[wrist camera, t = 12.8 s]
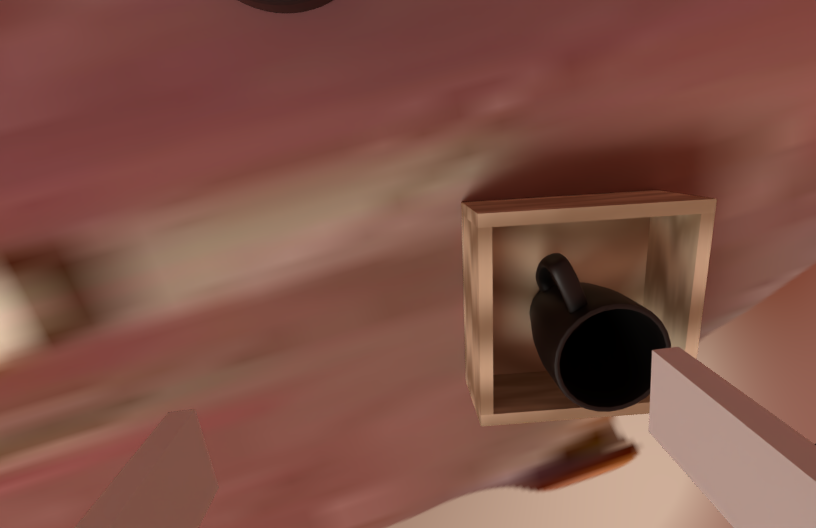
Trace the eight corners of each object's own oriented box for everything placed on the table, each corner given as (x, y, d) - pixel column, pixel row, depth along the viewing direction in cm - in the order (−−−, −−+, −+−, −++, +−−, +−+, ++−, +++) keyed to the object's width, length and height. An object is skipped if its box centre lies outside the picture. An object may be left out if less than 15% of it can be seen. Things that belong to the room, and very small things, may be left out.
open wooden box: (461, 202, 37) (477, 213, 30) (657, 189, 37) (716, 198, 30) (465, 380, 41) (481, 426, 34) (640, 367, 42) (690, 410, 35)
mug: (566, 210, 36) (626, 231, 27) (618, 325, 39) (689, 378, 30) (479, 257, 37) (509, 293, 28) (537, 367, 40) (582, 432, 31)
